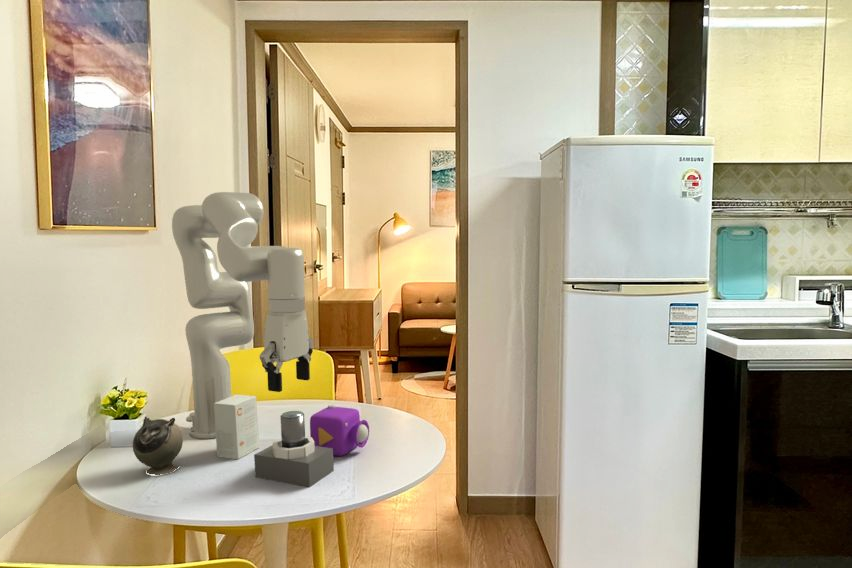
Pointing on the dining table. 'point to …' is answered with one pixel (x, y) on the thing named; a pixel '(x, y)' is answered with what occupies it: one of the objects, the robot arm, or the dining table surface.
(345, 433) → the toy camera
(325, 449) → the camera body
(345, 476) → the dining table surface
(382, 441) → the dining table surface
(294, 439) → the lens
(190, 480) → the dining table surface
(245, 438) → the small box
